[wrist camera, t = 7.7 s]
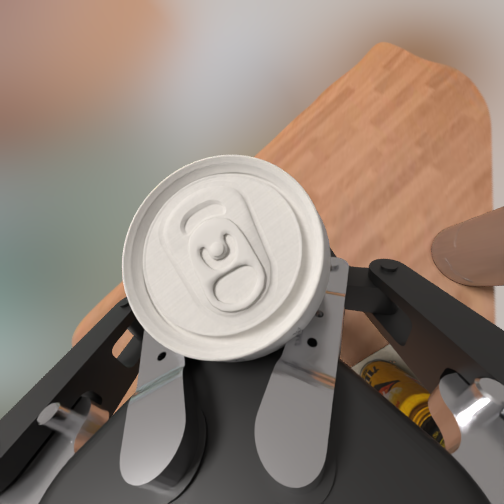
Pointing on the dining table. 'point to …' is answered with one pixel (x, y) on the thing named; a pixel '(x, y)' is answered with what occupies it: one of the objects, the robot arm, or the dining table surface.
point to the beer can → (226, 260)
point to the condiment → (399, 388)
